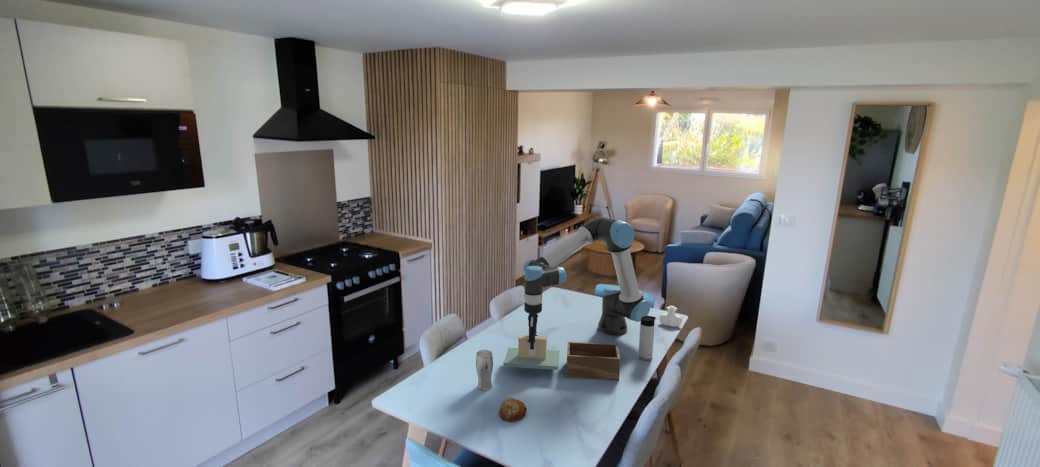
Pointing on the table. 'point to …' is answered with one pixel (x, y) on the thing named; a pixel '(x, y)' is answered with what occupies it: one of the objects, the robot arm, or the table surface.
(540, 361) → the lid
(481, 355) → the beer glass
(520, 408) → the bread roll
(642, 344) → the travel mug
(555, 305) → the table surface
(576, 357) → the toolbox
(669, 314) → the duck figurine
